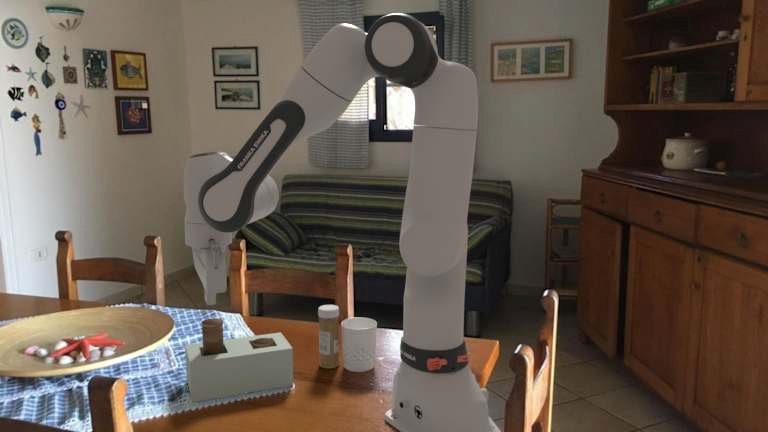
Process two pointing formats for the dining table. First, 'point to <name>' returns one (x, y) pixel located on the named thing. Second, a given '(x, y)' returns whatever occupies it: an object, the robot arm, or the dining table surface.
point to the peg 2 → (262, 343)
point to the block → (239, 367)
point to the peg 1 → (212, 336)
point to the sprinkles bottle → (328, 336)
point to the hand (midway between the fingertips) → (210, 303)
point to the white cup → (359, 343)
